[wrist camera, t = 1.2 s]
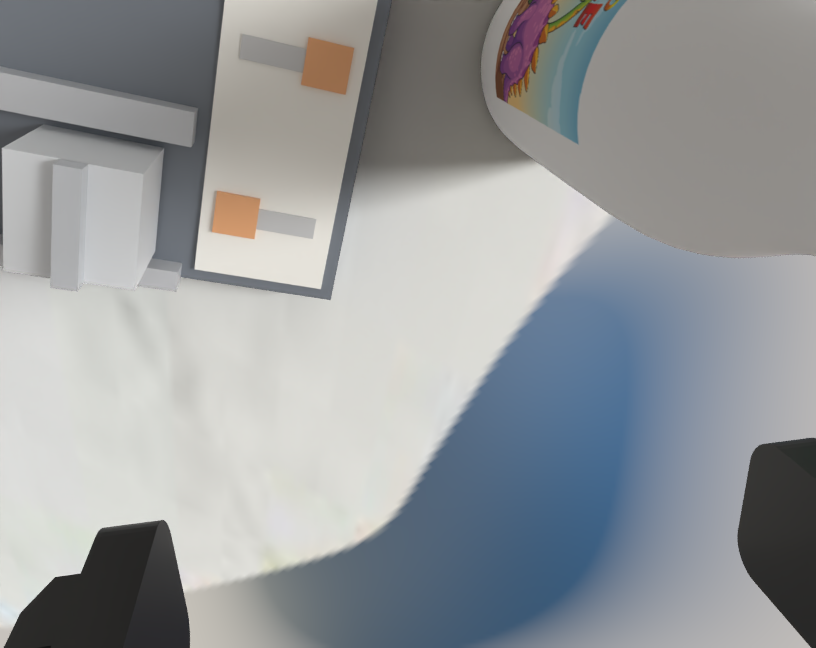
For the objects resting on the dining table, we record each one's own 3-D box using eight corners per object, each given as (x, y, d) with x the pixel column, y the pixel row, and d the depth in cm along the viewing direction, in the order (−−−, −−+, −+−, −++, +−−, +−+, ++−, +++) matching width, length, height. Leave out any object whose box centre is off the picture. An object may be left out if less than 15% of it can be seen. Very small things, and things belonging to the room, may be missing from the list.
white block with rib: (43, 124, 24) (-8, 153, 20) (164, 147, 25) (138, 179, 21) (42, 232, 25) (-6, 279, 21) (155, 251, 26) (130, 299, 22)
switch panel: (-419, -237, 20) (-530, -271, 17) (388, -19, 25) (399, -20, 23) (-330, 181, 25) (-404, 205, 22) (327, 285, 30) (330, 314, 28)
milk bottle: (686, 93, 29) (1309, 271, 11) (527, 191, 30) (870, 500, 12) (619, -91, 25) (1373, -260, 8) (441, 26, 26) (747, 119, 9)
